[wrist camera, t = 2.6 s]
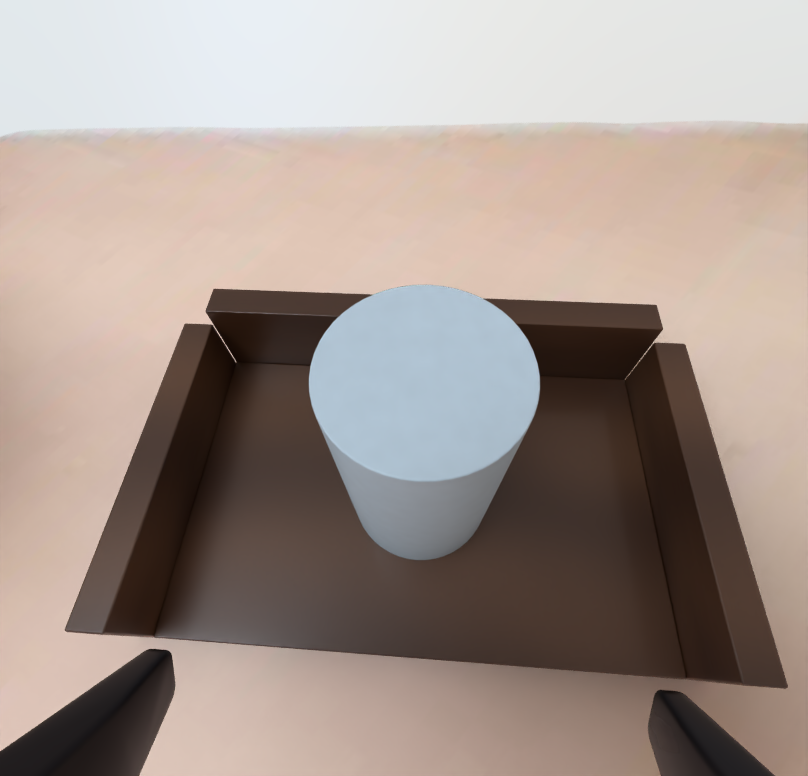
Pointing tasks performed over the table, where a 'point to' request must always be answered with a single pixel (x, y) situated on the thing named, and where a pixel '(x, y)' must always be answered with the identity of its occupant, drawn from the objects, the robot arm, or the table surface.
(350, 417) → the pale blue cylinder
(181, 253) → the table surface
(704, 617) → the tray
